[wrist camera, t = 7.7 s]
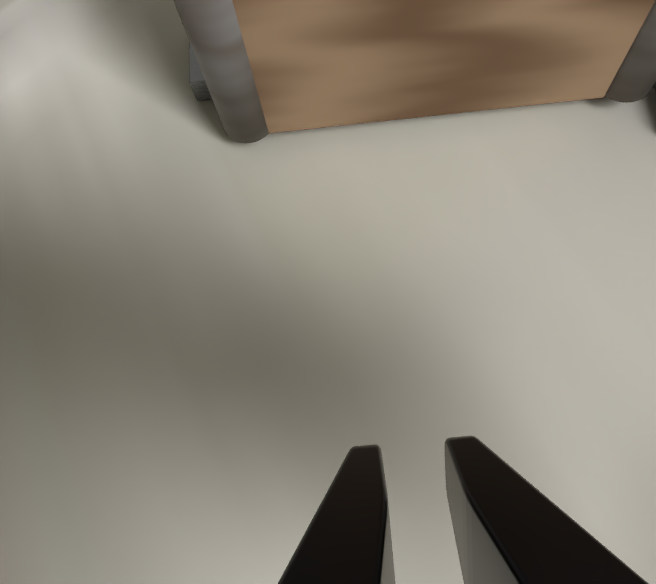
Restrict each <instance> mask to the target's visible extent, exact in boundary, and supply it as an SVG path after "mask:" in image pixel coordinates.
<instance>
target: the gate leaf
mask: <svg viewBox="0 0 656 584" xmlns="http://www.w3.org/2000/svg"><path fill="white" fill-rule="evenodd" d="M174 2H175V5H176V7H177V10H178V12H179V15H180V18H181V20H182V23H183V25H184V28H185V30H186V33H187V36H188V38H189V41H190V43H191V46H192V48H193V51H194V54H195V56H196V59H197V61H198V64H199V66H200V69H201V72H202V74H203V77H204V79H205V82H206V84H207V87H208V90H209V92H210V95H211V97H212V100H213V102H214V105H215V108H216V110H217V113H218V115H219V118H220V120H221V123H222V126H223V128H224V131H225V132H226V134H227V135H228V136H229V137H230V138H231V139H233V140H235V141H238V142H242V143H251V142H255V141H258V140H260V139H262V138H264V137H265V136H266V135H268V134H269V133H275V132H284V131H293V130H303V129H312V128H322V127H331V126H340V125H350V124H359V123H368V122H378V121H387V120H396V119H406V118H415V117H424V116H434V115H443V114H452V113H462V112H471V111H480V110H490V109H499V108H509V107H518V106H527V105H537V104H546V103H555V102H565V101H574V100H583V99H593V98H602V97H604V96H605V95H606V96H607V97H609V98H610V99H613V100H615V101H619V102H635V101H638V100H640V99H642V98H644V97H645V96H646V95H647V94H648V93H649V92H650V90H651V89H652V87H653V85H654V84H655V82H656V0H174Z"/></svg>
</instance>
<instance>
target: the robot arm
mask: <svg viewBox="0 0 656 584" xmlns="http://www.w3.org/2000/svg"><path fill="white" fill-rule="evenodd" d="M445 471H446V490H447V497H448V503H449V508H450V513H451V519H452V524H453V529H454V534H455V539H456V544H457V550H458V555H459V560H460V565H461V570H462V575H463V580H464V584H648V583H647V582H646V581H645V580H644V579H642V578H641V577H640V576H639V575H638V574H636V573H635V572H634V571H633V570H632V569H631V568H629V567H628V566H627V565H626V564H625V563H623V562H622V561H621V560H620V559H619V558H618V557H616V556H615V555H614V554H613V553H612V552H611V551H609V550H608V549H607V548H606V547H605V546H603V545H602V544H601V543H600V542H599V541H598V540H596V539H595V538H594V537H593V536H592V535H591V534H589V533H588V532H587V531H586V530H585V529H583V528H582V527H581V526H580V525H579V524H578V523H576V522H575V521H574V520H573V519H572V518H571V517H569V516H568V515H567V514H566V513H565V512H563V511H562V510H561V509H560V508H559V507H558V506H556V505H555V504H554V503H553V502H552V501H550V500H549V499H548V498H547V497H546V496H545V495H543V494H542V493H541V492H540V491H539V490H538V489H536V488H535V487H534V486H533V485H532V484H530V483H529V482H528V481H527V480H526V479H525V478H523V477H522V476H521V475H520V474H519V473H518V472H516V471H515V470H514V469H513V468H512V467H510V466H509V465H508V464H507V463H506V462H505V461H503V460H502V459H501V458H500V457H499V456H497V455H496V454H495V453H494V452H493V451H492V450H490V449H489V448H488V447H487V446H486V445H485V444H483V443H482V442H481V441H480V440H479V439H477V438H476V437H474V436H462V437H452V438H448V439H446V441H445ZM278 584H395V574H394V563H393V552H392V541H391V530H390V519H389V508H388V497H387V489H386V482H385V474H384V467H383V460H382V453H381V448H380V447H379V446H378V445H364V446H355V447H352V448H351V449H350V451H349V452H348V454H347V456H346V458H345V460H344V462H343V463H342V465H341V467H340V469H339V471H338V473H337V475H336V476H335V478H334V480H333V482H332V484H331V486H330V488H329V489H328V491H327V493H326V495H325V497H324V499H323V501H322V502H321V504H320V506H319V508H318V510H317V512H316V514H315V515H314V517H313V519H312V521H311V523H310V525H309V527H308V528H307V530H306V532H305V534H304V536H303V538H302V540H301V541H300V543H299V545H298V547H297V549H296V551H295V553H294V554H293V556H292V558H291V560H290V562H289V564H288V566H287V567H286V569H285V571H284V573H283V575H282V577H281V579H280V580H279V582H278Z"/></svg>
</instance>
